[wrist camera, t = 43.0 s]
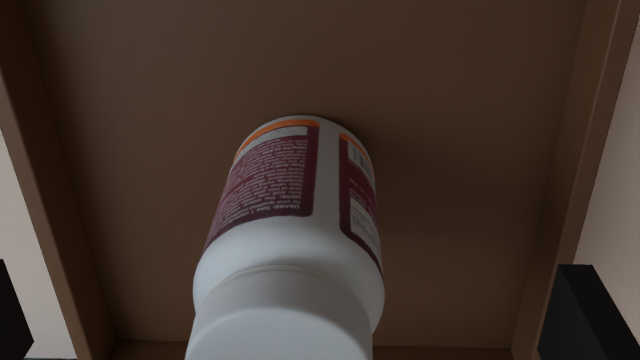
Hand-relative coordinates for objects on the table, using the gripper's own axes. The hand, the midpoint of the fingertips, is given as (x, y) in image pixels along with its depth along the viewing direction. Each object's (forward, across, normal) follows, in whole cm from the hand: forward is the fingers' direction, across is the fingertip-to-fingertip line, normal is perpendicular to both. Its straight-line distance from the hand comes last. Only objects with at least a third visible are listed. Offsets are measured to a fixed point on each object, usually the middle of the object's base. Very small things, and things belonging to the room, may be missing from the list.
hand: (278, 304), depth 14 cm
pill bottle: (+6, 0, 0) cm, 6 cm away
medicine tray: (+7, 0, 0) cm, 7 cm away
